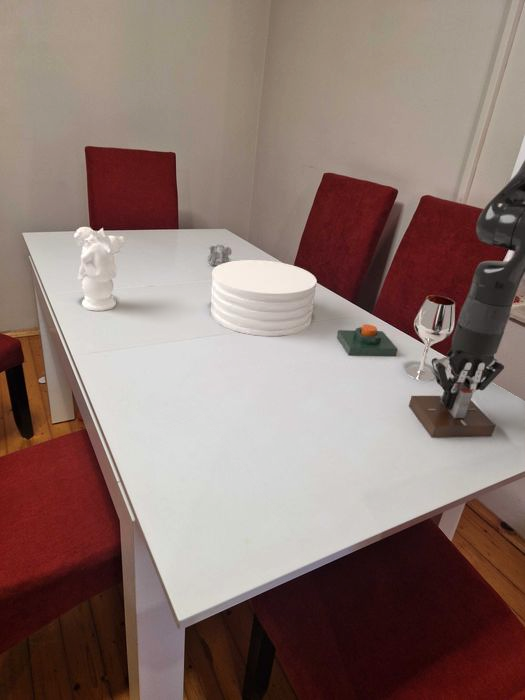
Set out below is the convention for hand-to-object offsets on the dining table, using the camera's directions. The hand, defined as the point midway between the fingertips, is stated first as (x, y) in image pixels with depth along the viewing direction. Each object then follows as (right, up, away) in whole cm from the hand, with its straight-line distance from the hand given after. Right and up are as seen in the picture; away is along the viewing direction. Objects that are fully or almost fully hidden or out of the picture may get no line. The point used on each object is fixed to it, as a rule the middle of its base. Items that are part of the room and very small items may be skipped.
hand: (453, 406), depth 85 cm
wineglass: (0, +5, +18) cm, 18 cm away
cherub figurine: (-79, +23, +38) cm, 90 cm away
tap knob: (0, -1, +1) cm, 1 cm away
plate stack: (-37, +20, +41) cm, 58 cm away
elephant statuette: (-51, +41, +78) cm, 102 cm away
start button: (-10, +15, +26) cm, 32 cm away
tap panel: (0, -3, +2) cm, 3 cm away
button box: (-10, +12, +28) cm, 32 cm away
